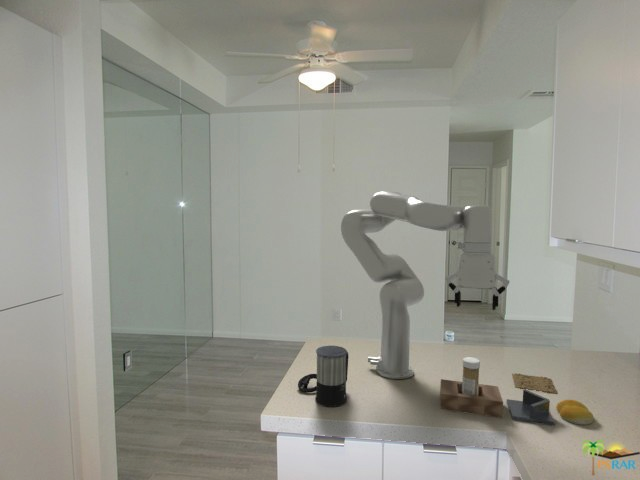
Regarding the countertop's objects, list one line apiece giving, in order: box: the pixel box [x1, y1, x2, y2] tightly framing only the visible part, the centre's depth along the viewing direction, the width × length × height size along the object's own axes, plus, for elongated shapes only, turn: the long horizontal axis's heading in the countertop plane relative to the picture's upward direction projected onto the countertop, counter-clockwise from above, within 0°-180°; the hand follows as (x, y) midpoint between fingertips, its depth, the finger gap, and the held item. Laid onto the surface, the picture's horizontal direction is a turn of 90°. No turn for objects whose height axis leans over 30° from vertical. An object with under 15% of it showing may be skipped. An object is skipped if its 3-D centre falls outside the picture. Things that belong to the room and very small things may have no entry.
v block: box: [506, 389, 555, 426], centre depth 112 cm, size 10×11×4 cm
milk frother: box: [297, 345, 349, 408], centre depth 121 cm, size 14×16×15 cm
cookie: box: [511, 373, 558, 395], centre depth 132 cm, size 12×12×1 cm
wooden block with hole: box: [439, 378, 504, 419], centre depth 116 cm, size 16×10×4 cm, turn 74°
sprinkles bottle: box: [461, 356, 481, 396], centre depth 116 cm, size 5×5×14 cm
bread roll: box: [555, 398, 594, 426], centre depth 111 cm, size 8×9×4 cm
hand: (476, 307), depth 118 cm, fingers open, 9 cm apart
